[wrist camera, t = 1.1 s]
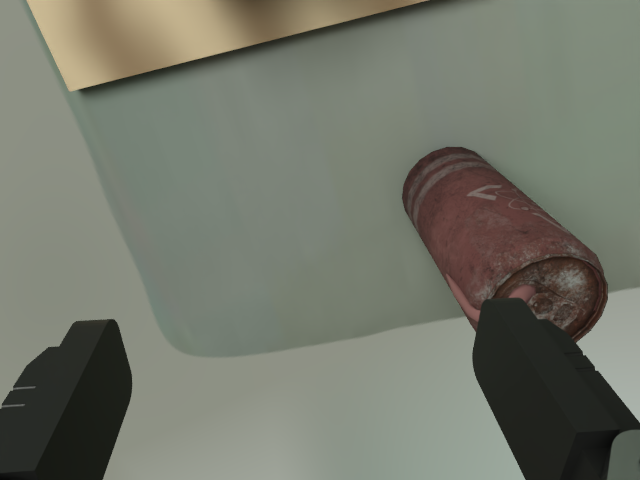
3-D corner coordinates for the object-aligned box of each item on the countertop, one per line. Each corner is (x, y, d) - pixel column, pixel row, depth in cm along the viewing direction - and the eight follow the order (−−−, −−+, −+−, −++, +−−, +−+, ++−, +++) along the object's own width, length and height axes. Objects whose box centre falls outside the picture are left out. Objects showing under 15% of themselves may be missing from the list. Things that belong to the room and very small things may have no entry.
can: (388, 160, 32) (462, 275, 19) (483, 133, 31) (620, 232, 19) (405, 238, 34) (478, 381, 22) (492, 213, 34) (615, 344, 22)
